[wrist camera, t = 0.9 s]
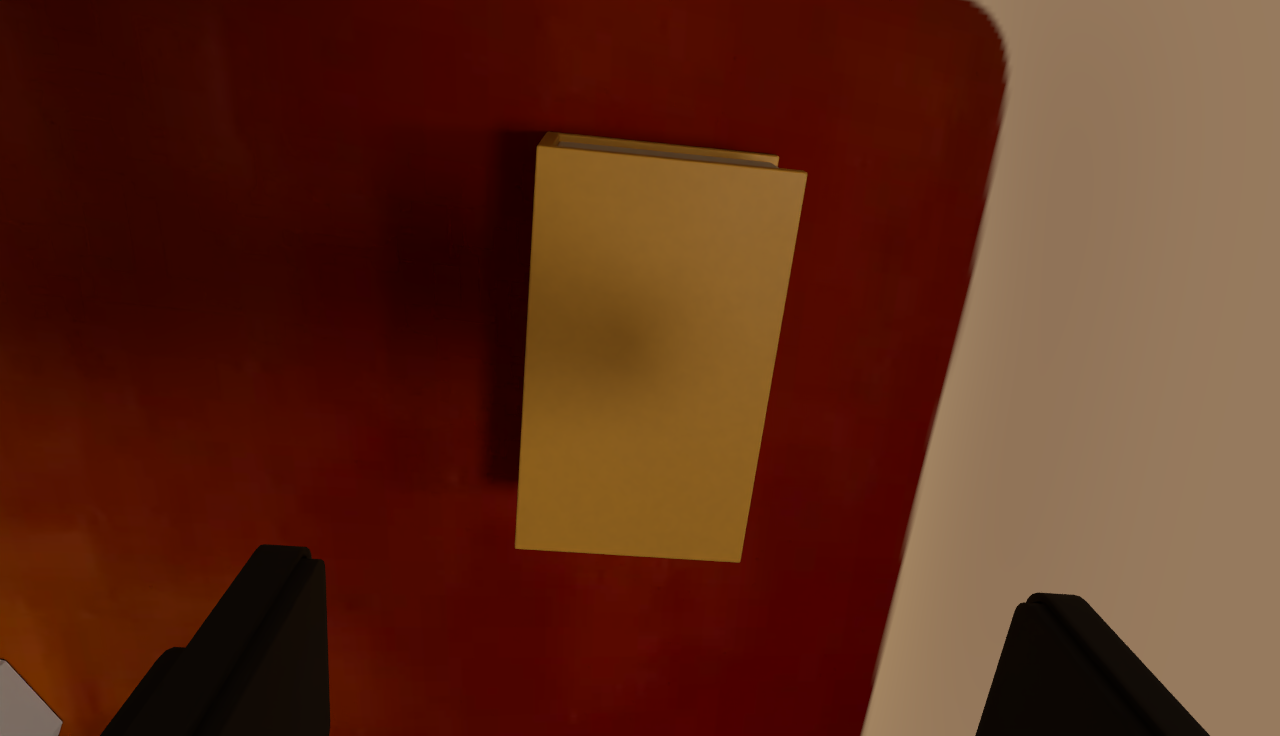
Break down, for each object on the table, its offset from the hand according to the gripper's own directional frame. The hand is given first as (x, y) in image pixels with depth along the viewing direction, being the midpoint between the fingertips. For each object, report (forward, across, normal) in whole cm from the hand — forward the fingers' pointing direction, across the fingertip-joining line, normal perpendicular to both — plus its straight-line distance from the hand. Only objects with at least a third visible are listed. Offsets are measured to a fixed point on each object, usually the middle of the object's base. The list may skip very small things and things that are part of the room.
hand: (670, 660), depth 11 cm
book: (+16, 0, 0) cm, 16 cm away
